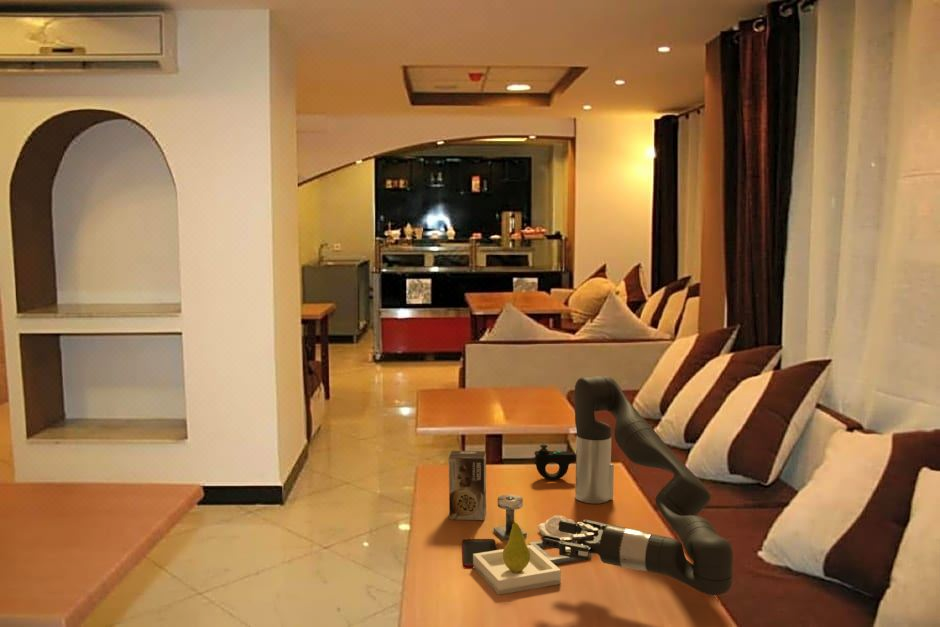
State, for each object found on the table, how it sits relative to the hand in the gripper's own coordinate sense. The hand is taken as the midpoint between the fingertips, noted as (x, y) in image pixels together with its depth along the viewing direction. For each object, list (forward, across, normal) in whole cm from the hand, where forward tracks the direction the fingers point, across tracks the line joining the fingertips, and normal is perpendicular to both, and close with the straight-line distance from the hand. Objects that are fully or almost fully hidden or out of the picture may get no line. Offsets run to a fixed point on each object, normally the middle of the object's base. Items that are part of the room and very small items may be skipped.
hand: (551, 532), depth 171 cm
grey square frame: (+4, +16, -11) cm, 20 cm away
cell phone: (+20, +6, -12) cm, 24 cm away
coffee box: (+34, +26, -12) cm, 44 cm away
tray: (+8, 0, -11) cm, 14 cm away
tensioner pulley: (+19, +20, -11) cm, 30 cm away
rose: (+9, +26, -12) cm, 30 cm away
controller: (+26, +63, -12) cm, 69 cm away
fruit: (+8, 0, -10) cm, 13 cm away
